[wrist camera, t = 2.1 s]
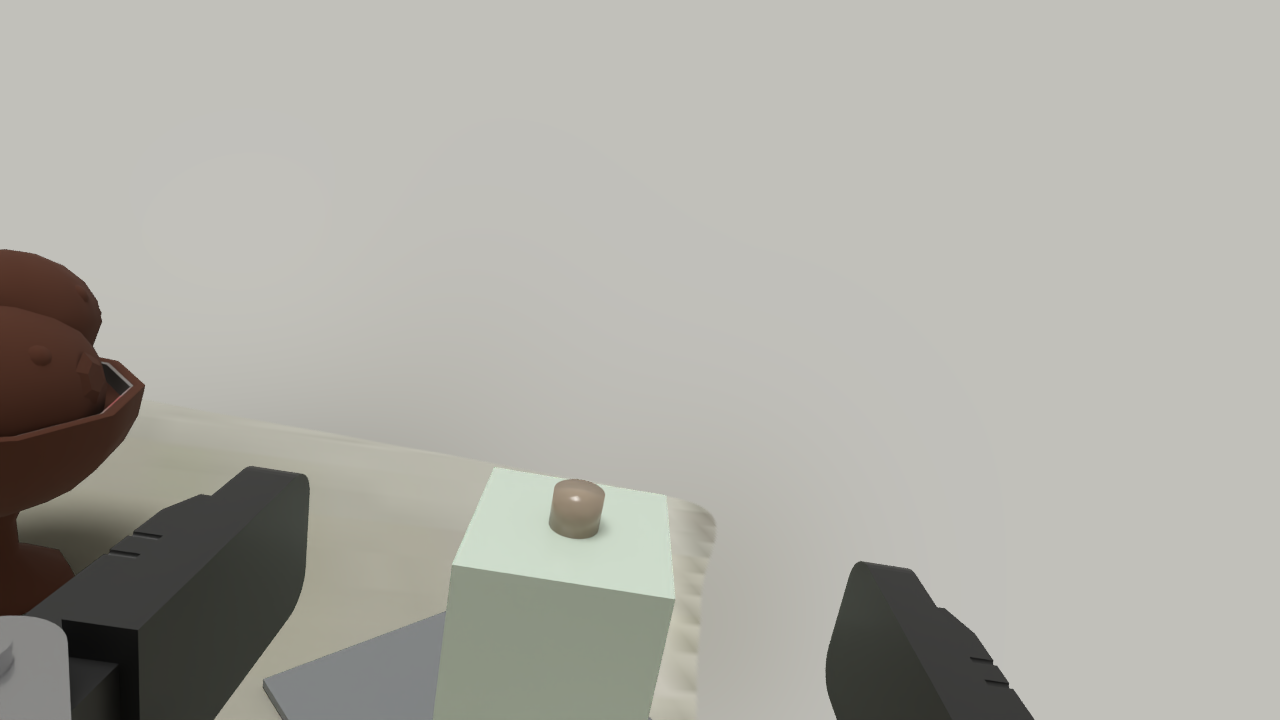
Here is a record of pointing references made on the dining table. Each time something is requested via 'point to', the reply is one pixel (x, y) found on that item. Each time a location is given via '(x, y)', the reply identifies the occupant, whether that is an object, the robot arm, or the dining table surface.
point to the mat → (367, 679)
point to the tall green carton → (557, 603)
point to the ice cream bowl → (50, 411)
